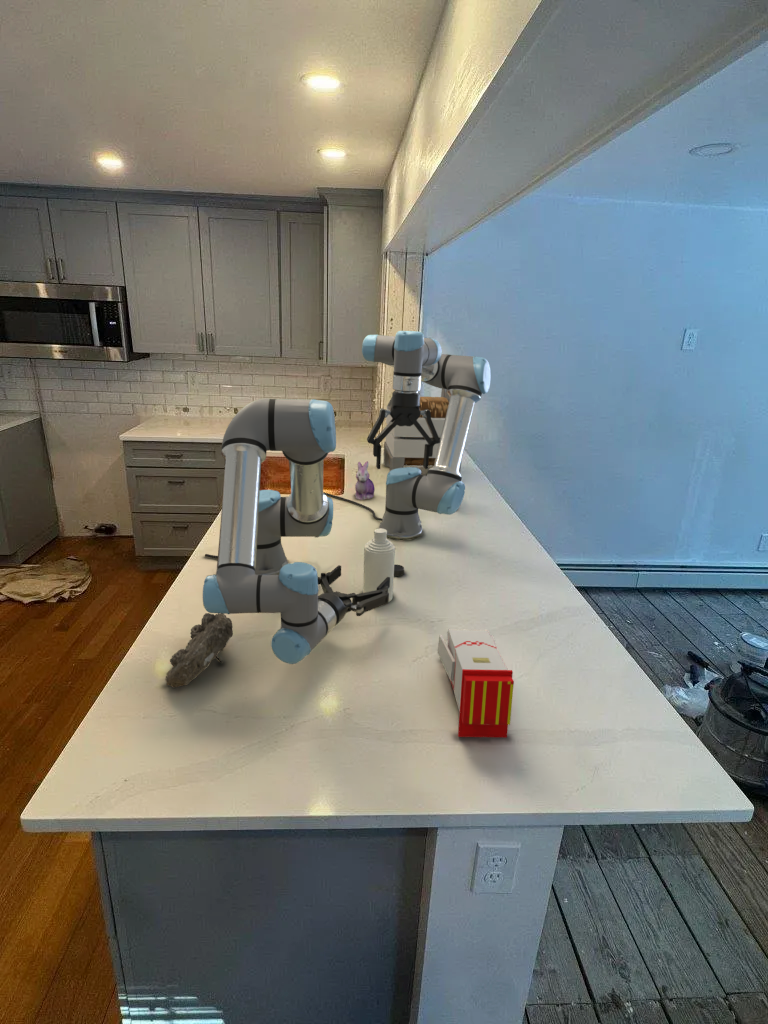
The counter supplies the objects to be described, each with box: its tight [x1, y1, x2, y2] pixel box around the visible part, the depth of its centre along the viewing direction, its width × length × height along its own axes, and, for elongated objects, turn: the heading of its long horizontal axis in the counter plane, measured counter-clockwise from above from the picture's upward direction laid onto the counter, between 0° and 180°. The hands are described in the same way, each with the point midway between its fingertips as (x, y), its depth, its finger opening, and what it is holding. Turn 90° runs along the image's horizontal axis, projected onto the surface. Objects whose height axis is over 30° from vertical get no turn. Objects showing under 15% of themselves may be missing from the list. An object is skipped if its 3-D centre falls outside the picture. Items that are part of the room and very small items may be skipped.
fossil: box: [165, 612, 234, 688], centre depth 123 cm, size 22×10×15 cm
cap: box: [394, 564, 405, 577], centre depth 170 cm, size 4×4×2 cm
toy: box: [437, 628, 515, 738], centre depth 117 cm, size 12×13×30 cm
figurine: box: [354, 460, 376, 501], centre depth 234 cm, size 9×10×15 cm
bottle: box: [362, 527, 396, 602], centre depth 153 cm, size 8×8×20 cm
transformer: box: [383, 388, 463, 475], centre depth 268 cm, size 34×33×41 cm
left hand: (363, 575), depth 144 cm, fingers open, 13 cm apart
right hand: (402, 467), depth 159 cm, fingers open, 13 cm apart
